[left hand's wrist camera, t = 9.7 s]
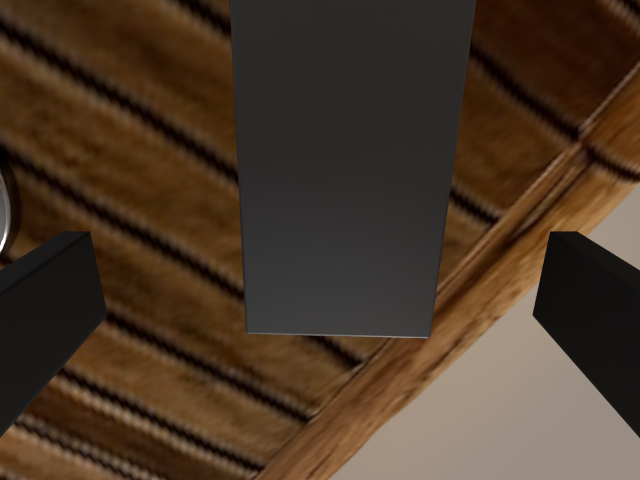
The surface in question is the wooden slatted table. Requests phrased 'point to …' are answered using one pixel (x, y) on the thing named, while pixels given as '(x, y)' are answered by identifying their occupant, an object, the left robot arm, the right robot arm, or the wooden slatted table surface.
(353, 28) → the bar
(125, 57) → the wooden slatted table surface
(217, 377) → the wooden slatted table surface
